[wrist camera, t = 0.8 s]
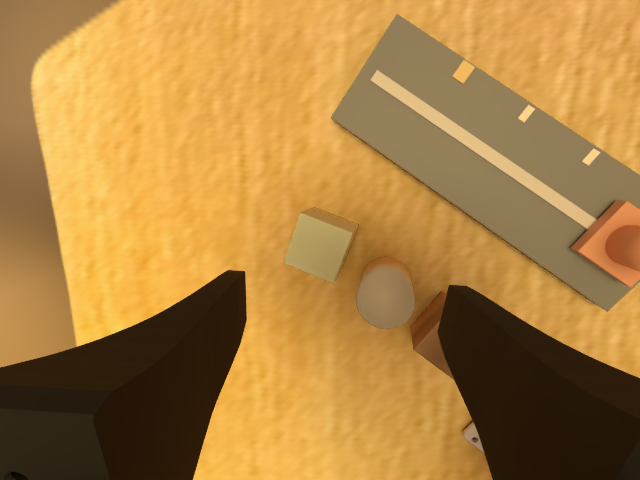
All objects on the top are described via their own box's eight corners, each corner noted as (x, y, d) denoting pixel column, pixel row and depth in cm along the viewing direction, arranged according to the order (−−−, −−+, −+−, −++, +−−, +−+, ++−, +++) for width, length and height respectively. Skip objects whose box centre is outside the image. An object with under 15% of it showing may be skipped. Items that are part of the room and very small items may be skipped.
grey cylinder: (421, 276, 27) (427, 297, 22) (391, 312, 28) (390, 339, 23) (381, 247, 27) (379, 262, 22) (353, 283, 28) (345, 305, 24)
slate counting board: (686, 217, 22) (709, 220, 21) (594, 303, 25) (609, 312, 23) (396, 23, 24) (396, 12, 22) (334, 120, 26) (330, 117, 25)
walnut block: (482, 320, 27) (497, 344, 23) (449, 354, 28) (459, 383, 24) (441, 290, 27) (449, 309, 23) (410, 326, 28) (413, 349, 24)
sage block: (359, 224, 27) (352, 233, 23) (342, 267, 28) (333, 283, 24) (314, 207, 28) (300, 212, 24) (299, 250, 29) (283, 263, 25)
